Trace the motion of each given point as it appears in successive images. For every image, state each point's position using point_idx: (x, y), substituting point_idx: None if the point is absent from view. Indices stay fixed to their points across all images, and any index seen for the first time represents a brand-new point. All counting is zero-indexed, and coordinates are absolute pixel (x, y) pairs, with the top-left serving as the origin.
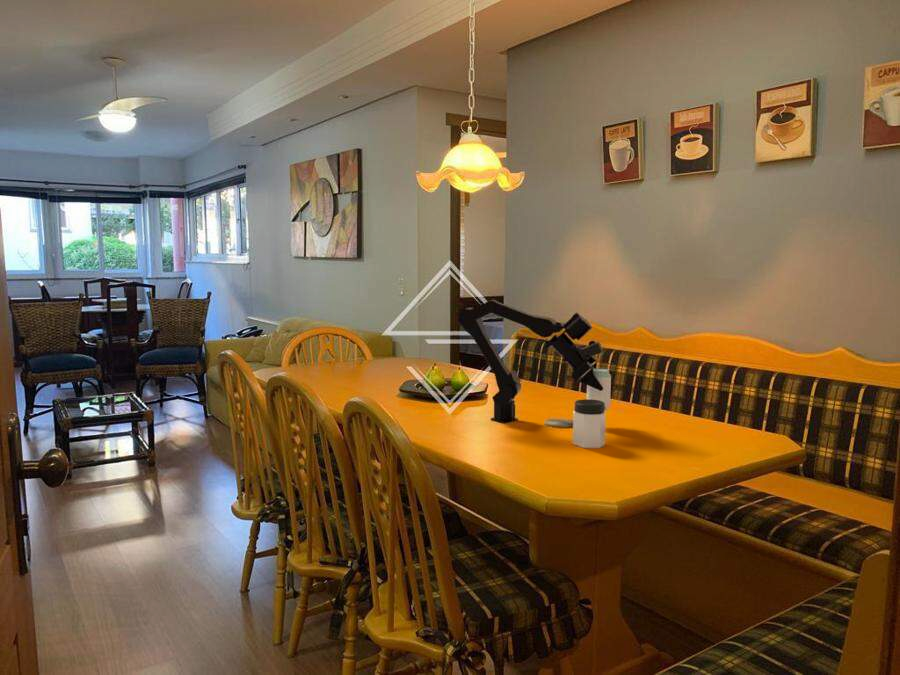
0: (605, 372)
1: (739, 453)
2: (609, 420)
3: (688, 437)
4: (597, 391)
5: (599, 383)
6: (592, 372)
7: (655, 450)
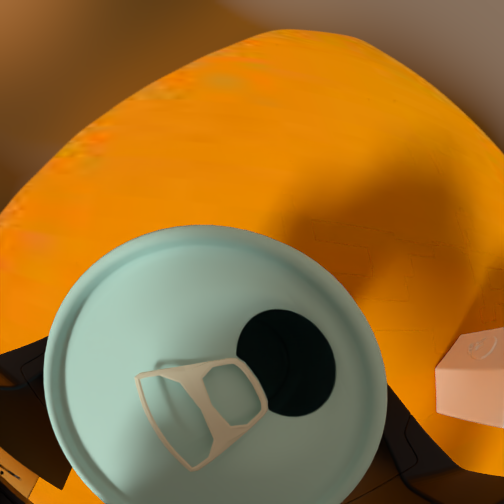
0: (347, 305)
1: (415, 91)
2: None
3: (336, 118)
4: (328, 390)
5: (387, 384)
6: (482, 479)
7: (466, 214)
